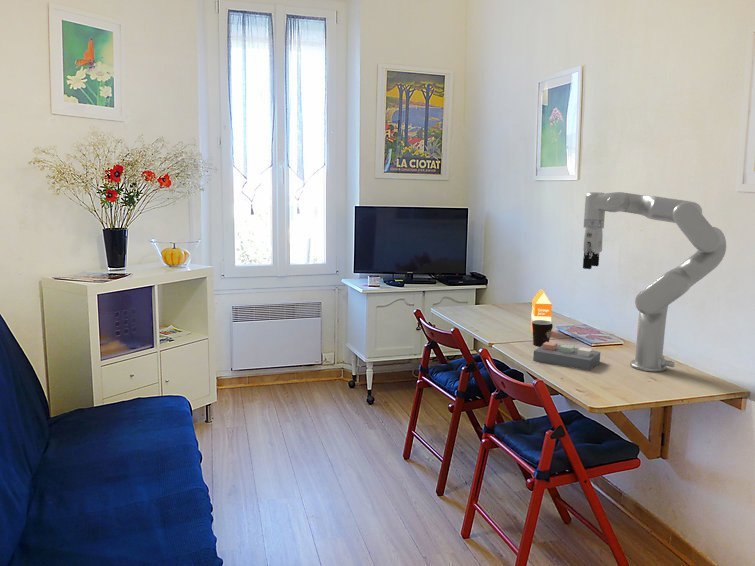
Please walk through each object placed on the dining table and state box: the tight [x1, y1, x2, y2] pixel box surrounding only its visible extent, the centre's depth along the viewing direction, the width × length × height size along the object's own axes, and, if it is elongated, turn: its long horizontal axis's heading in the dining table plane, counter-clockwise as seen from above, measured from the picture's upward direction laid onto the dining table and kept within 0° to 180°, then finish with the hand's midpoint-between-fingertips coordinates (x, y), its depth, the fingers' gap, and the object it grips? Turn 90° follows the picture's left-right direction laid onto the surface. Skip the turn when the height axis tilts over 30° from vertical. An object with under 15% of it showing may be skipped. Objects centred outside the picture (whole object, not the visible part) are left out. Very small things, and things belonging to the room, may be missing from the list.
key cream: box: [578, 346, 594, 357], centre depth 238 cm, size 4×4×3 cm
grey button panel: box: [532, 344, 601, 371], centre depth 242 cm, size 22×14×4 cm, turn 55°
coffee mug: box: [531, 320, 554, 347], centre depth 266 cm, size 12×9×10 cm
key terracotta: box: [542, 341, 558, 351], centre depth 245 cm, size 4×4×3 cm
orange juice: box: [530, 288, 553, 333], centre depth 286 cm, size 8×9×20 cm
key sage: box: [560, 344, 576, 354], centre depth 241 cm, size 4×4×3 cm
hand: (590, 267), depth 243 cm, fingers open, 9 cm apart
